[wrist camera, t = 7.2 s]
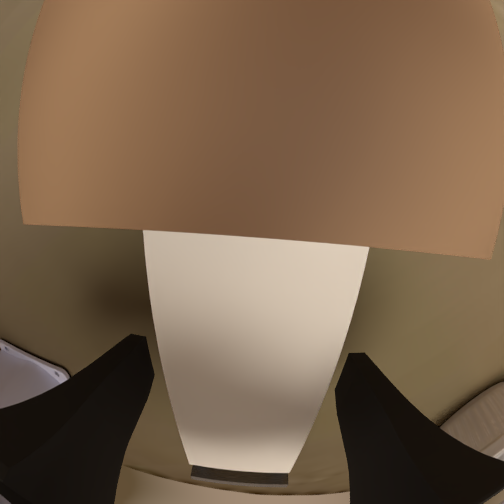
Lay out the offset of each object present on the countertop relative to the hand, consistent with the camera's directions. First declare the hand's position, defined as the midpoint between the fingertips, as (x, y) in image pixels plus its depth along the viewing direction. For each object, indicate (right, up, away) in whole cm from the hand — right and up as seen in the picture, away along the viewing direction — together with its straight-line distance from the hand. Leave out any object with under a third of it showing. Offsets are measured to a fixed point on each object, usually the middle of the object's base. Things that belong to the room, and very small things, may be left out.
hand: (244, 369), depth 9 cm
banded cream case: (0, +3, +2) cm, 4 cm away
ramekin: (+22, -12, +7) cm, 27 cm away
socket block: (+1, +9, 0) cm, 9 cm away
